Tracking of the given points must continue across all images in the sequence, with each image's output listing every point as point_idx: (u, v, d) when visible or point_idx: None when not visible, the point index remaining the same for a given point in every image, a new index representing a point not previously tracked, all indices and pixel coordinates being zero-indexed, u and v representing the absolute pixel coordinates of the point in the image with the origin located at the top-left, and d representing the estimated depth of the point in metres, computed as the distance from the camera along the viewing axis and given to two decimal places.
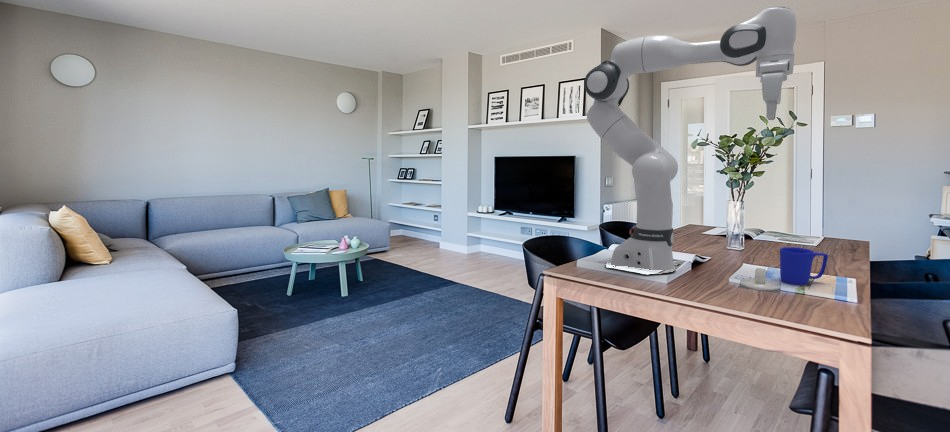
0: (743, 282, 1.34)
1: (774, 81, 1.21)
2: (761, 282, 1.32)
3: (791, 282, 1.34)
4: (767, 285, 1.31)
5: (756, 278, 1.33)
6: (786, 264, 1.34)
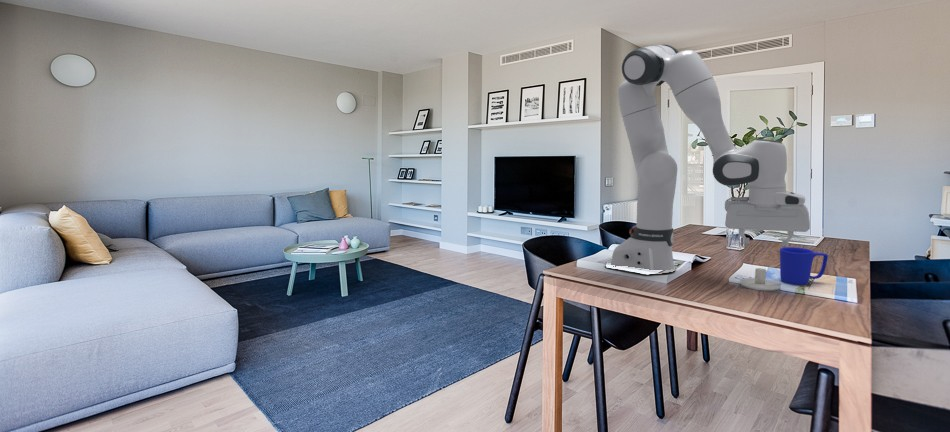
0: (743, 282, 1.34)
1: None
2: (761, 282, 1.32)
3: (791, 282, 1.34)
4: (767, 285, 1.31)
5: (756, 278, 1.33)
6: (786, 264, 1.34)
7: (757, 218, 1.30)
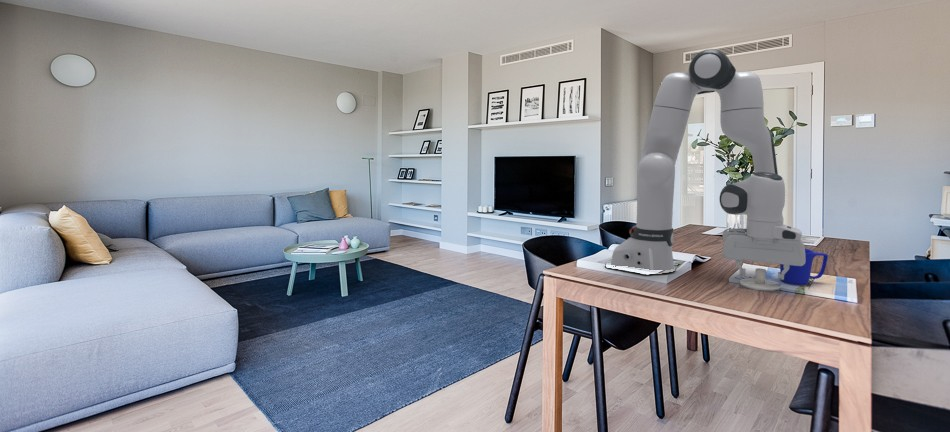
0: (743, 282, 1.34)
1: None
2: (761, 282, 1.32)
3: (791, 282, 1.34)
4: (767, 285, 1.31)
5: (756, 278, 1.33)
6: None
7: (754, 250, 1.32)
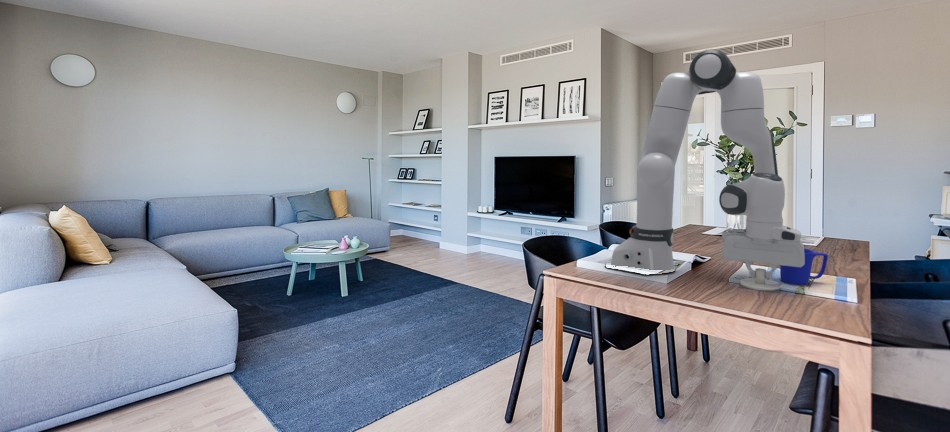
0: (743, 282, 1.34)
1: None
2: (761, 282, 1.32)
3: (791, 282, 1.34)
4: (767, 285, 1.31)
5: (756, 278, 1.33)
6: None
7: (753, 251, 1.31)
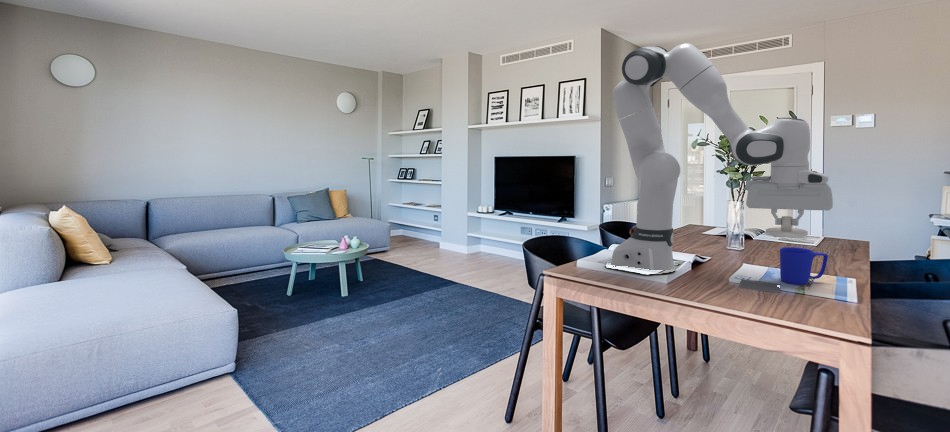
0: (769, 231, 1.32)
1: None
2: (787, 229, 1.30)
3: (791, 282, 1.34)
4: (794, 232, 1.29)
5: (782, 226, 1.31)
6: (786, 264, 1.34)
7: (779, 197, 1.30)
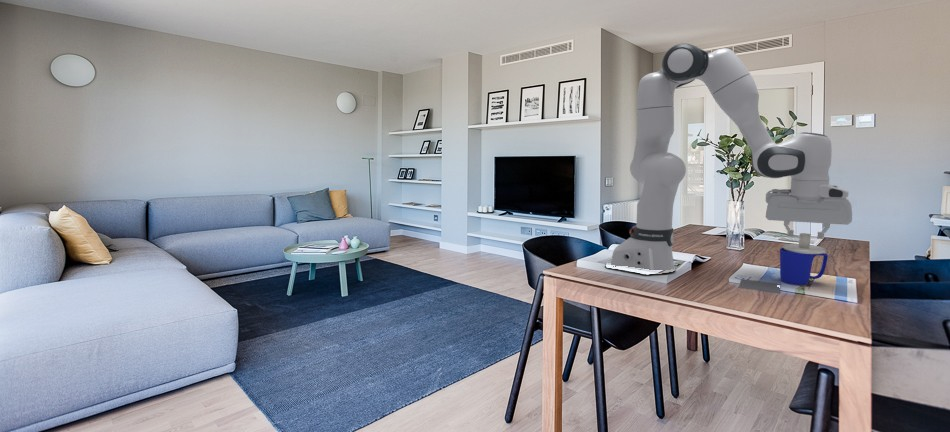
0: (787, 247, 1.35)
1: None
2: (806, 246, 1.33)
3: (791, 282, 1.34)
4: (812, 249, 1.32)
5: (800, 242, 1.34)
6: (786, 264, 1.34)
7: (799, 210, 1.32)
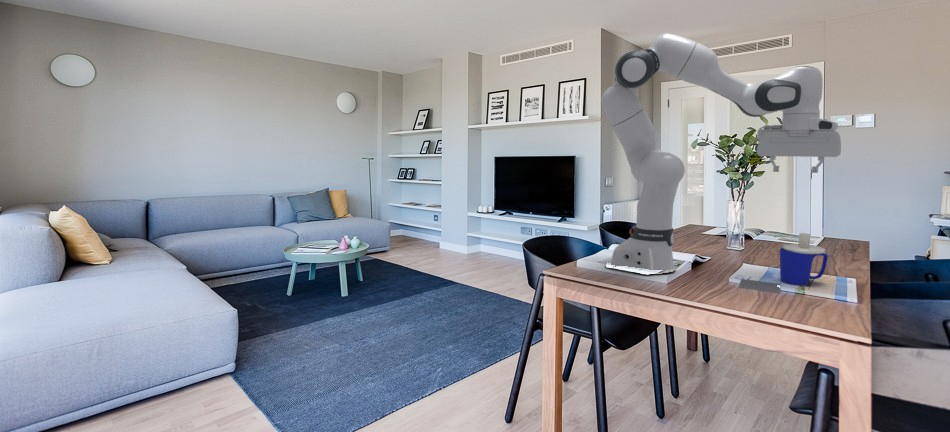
0: (787, 247, 1.35)
1: None
2: (805, 246, 1.33)
3: (791, 282, 1.34)
4: (812, 249, 1.32)
5: (800, 242, 1.34)
6: (786, 264, 1.34)
7: (789, 144, 1.35)
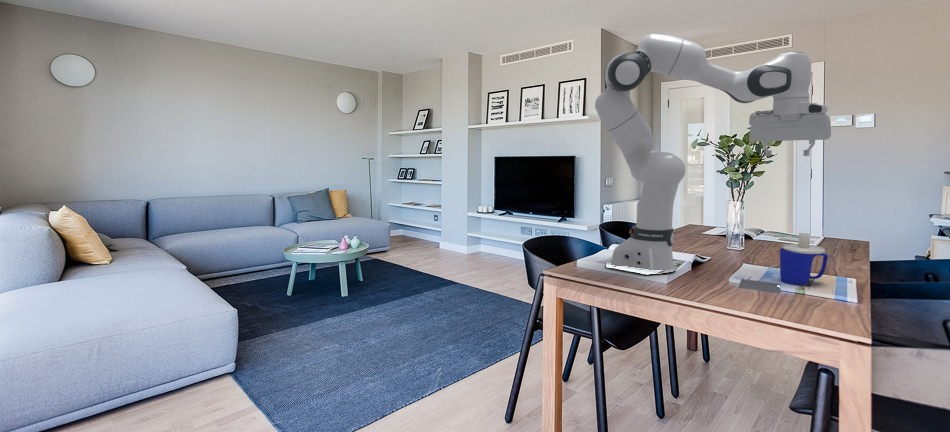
0: (786, 247, 1.35)
1: None
2: (805, 246, 1.33)
3: (791, 282, 1.34)
4: (811, 249, 1.32)
5: (800, 242, 1.34)
6: (786, 264, 1.34)
7: (780, 129, 1.37)
